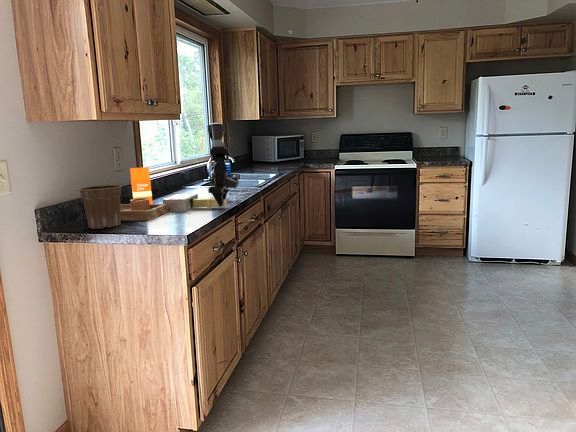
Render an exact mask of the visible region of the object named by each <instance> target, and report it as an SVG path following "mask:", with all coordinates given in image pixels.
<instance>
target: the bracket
mask: <svg viewBox="0 0 576 432" xmlns="http://www.w3.org/2000/svg"><path fill="white" fill-rule="evenodd" d="M129 201H130V202H129V203H130V204H131V209H127V210H122V211H148V210H150V202H149V198H136V199H133V198H132V199H130V200H129Z"/></svg>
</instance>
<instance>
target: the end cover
mask: <svg viewBox="0 0 576 432" xmlns="http://www.w3.org/2000/svg"><path fill="white" fill-rule="evenodd" d="M227 199H228V198H226V199H222V206H219V205H218V203H217V201H216V199H215V198H214V197H209V198H198V199H194V200H193V206H194V207H195V208H207V209H212V208H226V207H228V200H227Z"/></svg>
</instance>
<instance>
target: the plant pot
mask: <svg viewBox="0 0 576 432" xmlns="http://www.w3.org/2000/svg"><path fill="white" fill-rule="evenodd" d="M122 187H123V185H120V184H104V185H93V186H91V185H90V186H85V187H84V186H83V187H80V188H78V191H79V192H80V197H81V200H82V202H83V206H84V211H85V217H86V219H87V225H88V228H89V229H92V230H93V229H94V230H100V229H105V228H108V229H110V228H116V227H118V226H120V225H121V224H122V223H121V221H122V220H121V219H120V204H121V197H122Z"/></svg>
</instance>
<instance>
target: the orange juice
mask: <svg viewBox="0 0 576 432" xmlns="http://www.w3.org/2000/svg"><path fill="white" fill-rule="evenodd" d="M130 181H131V191H132V199H136V198H149V202H150V204H154V202H153V193H152V183H151V176H150V169H149V166H145V167H130Z"/></svg>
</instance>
